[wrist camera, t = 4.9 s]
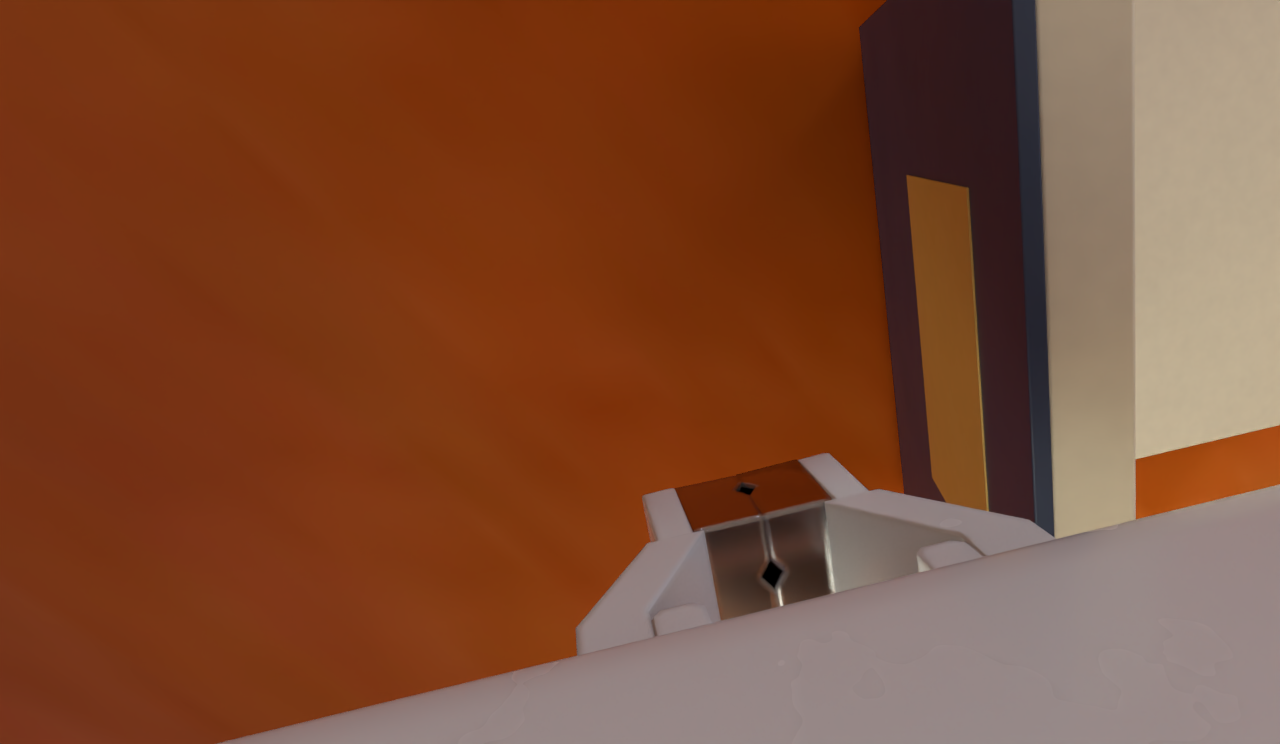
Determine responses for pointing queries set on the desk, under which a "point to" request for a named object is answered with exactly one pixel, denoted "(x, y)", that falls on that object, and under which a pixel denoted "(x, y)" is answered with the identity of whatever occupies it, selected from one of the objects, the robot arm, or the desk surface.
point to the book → (1206, 221)
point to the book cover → (1009, 251)
